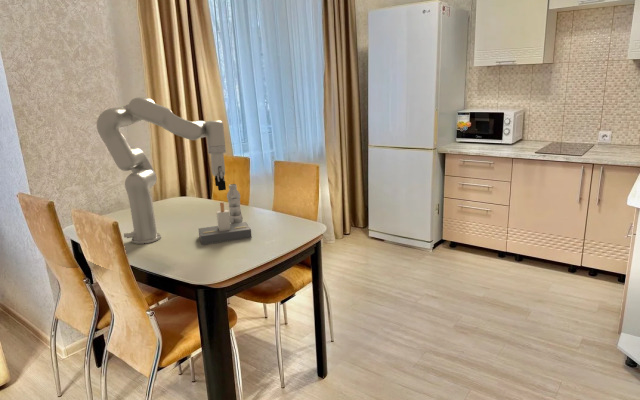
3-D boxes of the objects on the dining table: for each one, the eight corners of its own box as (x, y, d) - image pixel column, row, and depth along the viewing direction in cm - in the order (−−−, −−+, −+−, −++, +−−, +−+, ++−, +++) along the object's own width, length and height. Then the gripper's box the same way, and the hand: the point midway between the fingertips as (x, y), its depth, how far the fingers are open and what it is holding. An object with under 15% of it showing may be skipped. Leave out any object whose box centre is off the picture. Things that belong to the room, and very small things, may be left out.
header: (201, 245, 193) (200, 235, 192) (199, 236, 204) (198, 227, 203) (251, 237, 200) (250, 228, 199) (246, 229, 211) (245, 221, 210)
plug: (220, 238, 199) (216, 204, 195) (219, 236, 203) (215, 202, 199) (231, 237, 201) (228, 203, 197) (230, 234, 204) (226, 201, 200)
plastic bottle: (240, 226, 217) (236, 186, 212) (227, 225, 218) (223, 186, 213) (245, 222, 223) (241, 183, 218) (232, 221, 225) (228, 183, 220)
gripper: (205, 147, 199) (209, 185, 203) (210, 152, 183) (214, 193, 187) (222, 146, 201) (226, 183, 205) (228, 151, 185) (232, 190, 189)
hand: (220, 187), depth 196 cm, fingers open, 9 cm apart
